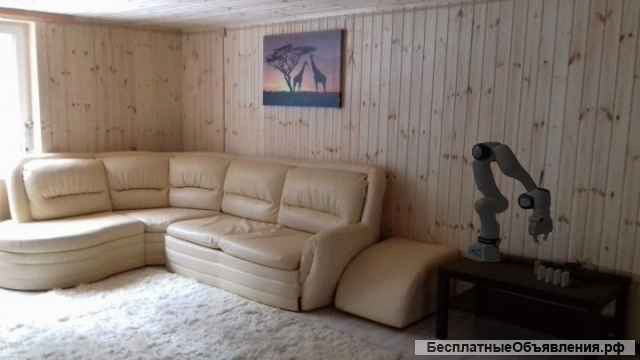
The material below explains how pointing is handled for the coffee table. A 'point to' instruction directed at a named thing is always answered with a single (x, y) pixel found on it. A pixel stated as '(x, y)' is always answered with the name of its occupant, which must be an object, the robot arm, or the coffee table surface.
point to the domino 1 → (537, 264)
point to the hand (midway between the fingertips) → (540, 241)
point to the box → (572, 269)
